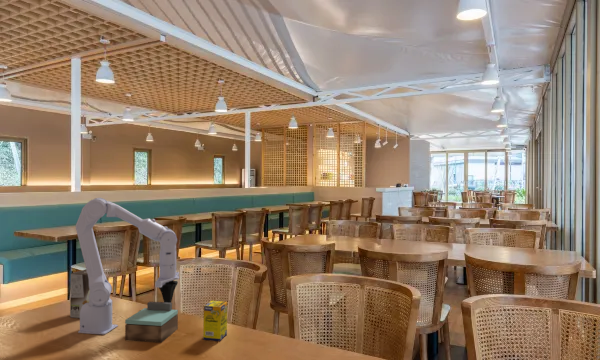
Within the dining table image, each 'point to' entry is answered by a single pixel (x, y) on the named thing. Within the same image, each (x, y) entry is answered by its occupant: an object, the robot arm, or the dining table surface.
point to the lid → (153, 314)
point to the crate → (151, 331)
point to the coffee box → (79, 292)
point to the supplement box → (215, 321)
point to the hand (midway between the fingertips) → (167, 302)
